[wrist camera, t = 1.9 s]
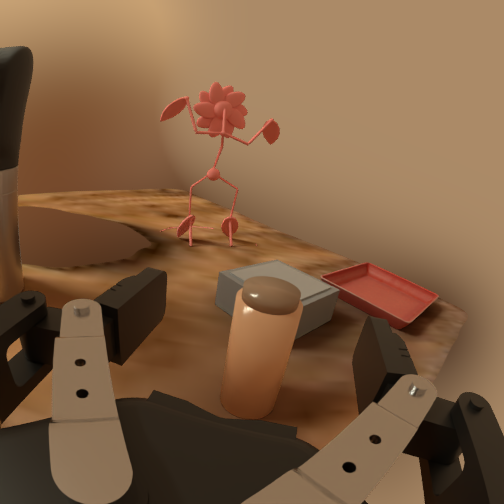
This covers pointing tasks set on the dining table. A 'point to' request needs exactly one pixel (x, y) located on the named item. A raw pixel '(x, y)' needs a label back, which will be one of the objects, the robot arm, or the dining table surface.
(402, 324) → the plant saucer
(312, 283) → the grey lidded square box
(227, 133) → the figurine
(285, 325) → the jar
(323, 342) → the dining table surface
